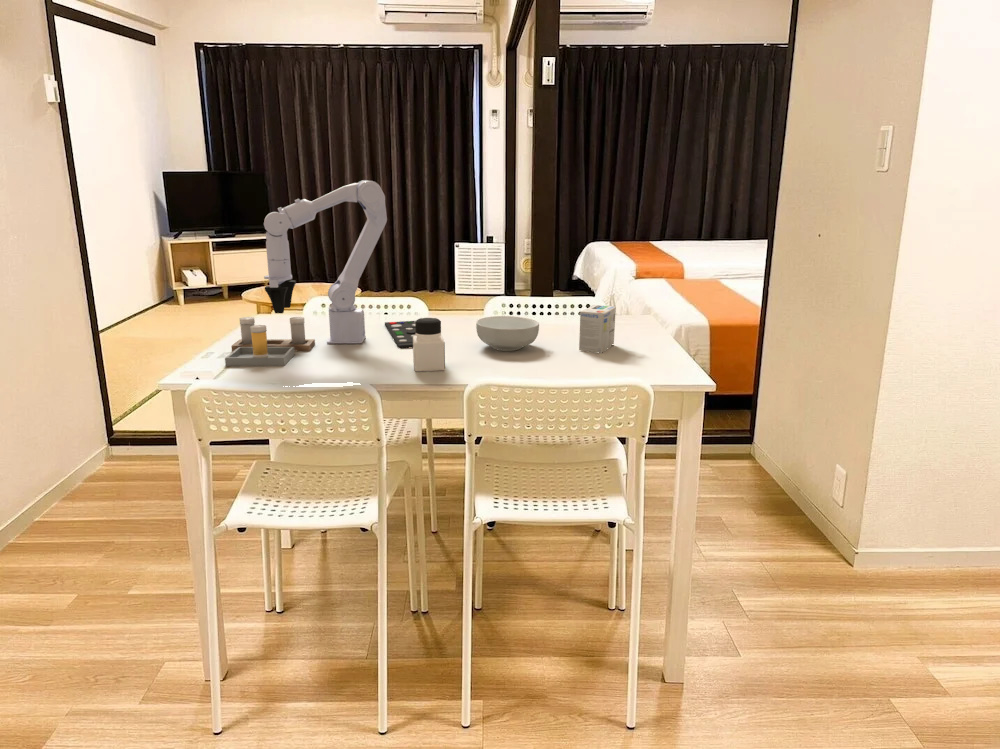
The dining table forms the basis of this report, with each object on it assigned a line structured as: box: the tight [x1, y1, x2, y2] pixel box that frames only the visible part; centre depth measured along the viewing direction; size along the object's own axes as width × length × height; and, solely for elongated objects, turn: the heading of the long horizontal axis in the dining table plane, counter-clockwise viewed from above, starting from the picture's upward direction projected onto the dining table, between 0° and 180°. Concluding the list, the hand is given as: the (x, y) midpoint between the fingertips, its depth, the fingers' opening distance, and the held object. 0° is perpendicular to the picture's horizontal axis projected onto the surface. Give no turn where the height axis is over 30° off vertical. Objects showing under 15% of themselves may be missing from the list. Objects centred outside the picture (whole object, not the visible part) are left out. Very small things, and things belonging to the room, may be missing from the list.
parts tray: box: [224, 347, 296, 367], centre depth 179 cm, size 14×11×2 cm
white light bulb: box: [239, 316, 255, 344], centre depth 190 cm, size 4×4×8 cm
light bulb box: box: [578, 304, 617, 354], centre depth 193 cm, size 11×7×11 cm, turn 154°
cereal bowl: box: [475, 315, 540, 352], centre depth 193 cm, size 17×17×7 cm
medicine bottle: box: [412, 316, 446, 373], centre depth 173 cm, size 7×7×12 cm
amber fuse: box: [250, 324, 269, 357], centre depth 178 cm, size 4×4×8 cm
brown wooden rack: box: [231, 338, 316, 352], centre depth 191 cm, size 20×7×2 cm, turn 92°
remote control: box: [384, 320, 416, 349], centre depth 207 cm, size 11×30×2 cm, turn 16°
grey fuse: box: [289, 316, 306, 344], centre depth 191 cm, size 4×4×8 cm
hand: (282, 310), depth 193 cm, fingers open, 7 cm apart
